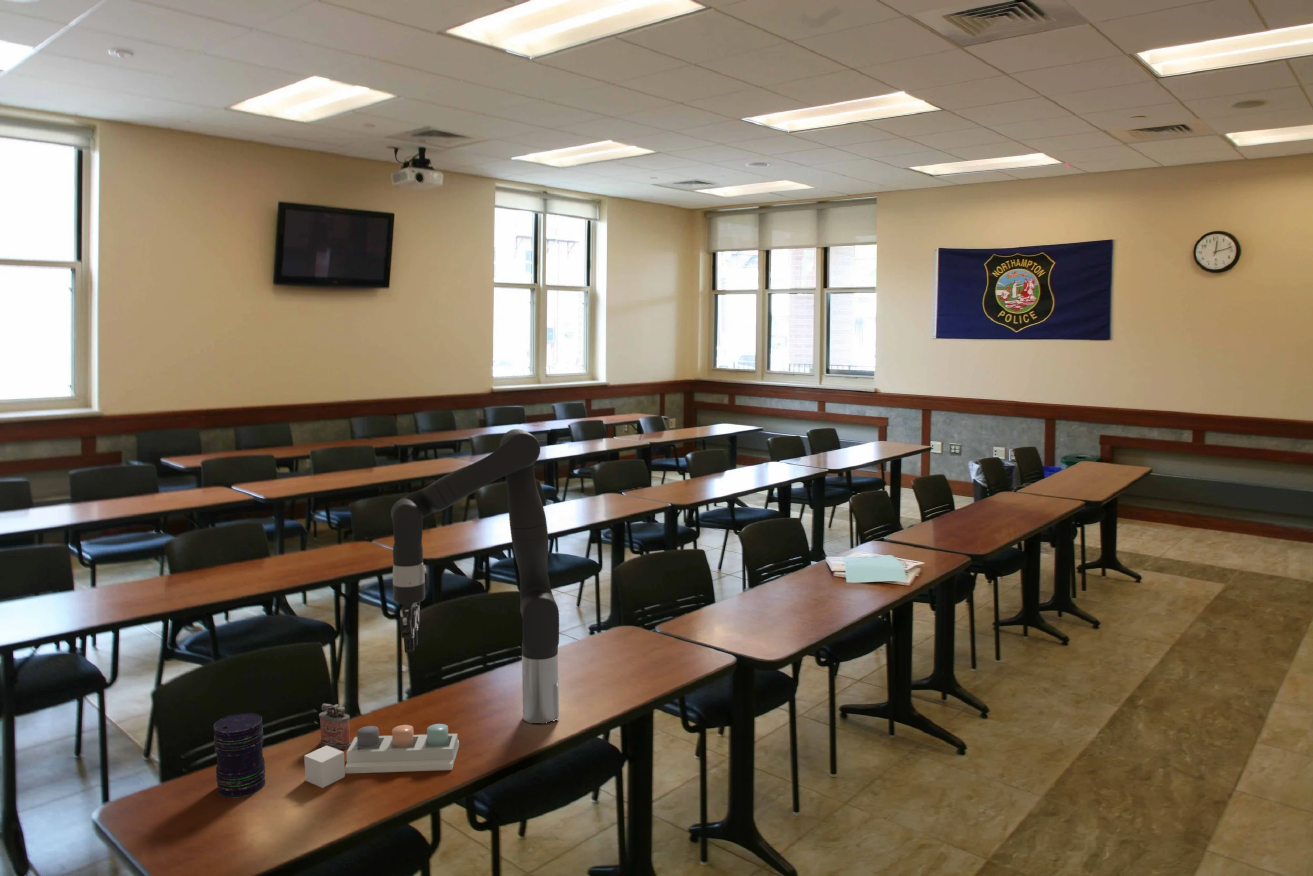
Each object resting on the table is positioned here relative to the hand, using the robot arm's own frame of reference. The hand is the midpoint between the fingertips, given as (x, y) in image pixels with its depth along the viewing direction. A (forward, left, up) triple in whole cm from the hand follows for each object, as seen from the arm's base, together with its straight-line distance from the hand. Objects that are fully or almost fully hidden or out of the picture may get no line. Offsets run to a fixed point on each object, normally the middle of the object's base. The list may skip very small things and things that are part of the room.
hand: (411, 648), depth 227 cm
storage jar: (+33, +23, -22) cm, 46 cm away
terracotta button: (0, +13, -18) cm, 22 cm away
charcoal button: (+8, +13, -18) cm, 23 cm away
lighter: (+18, +4, -22) cm, 29 cm away
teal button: (-8, +13, -18) cm, 23 cm away
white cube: (+16, +21, -23) cm, 35 cm away
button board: (0, +13, -22) cm, 26 cm away
